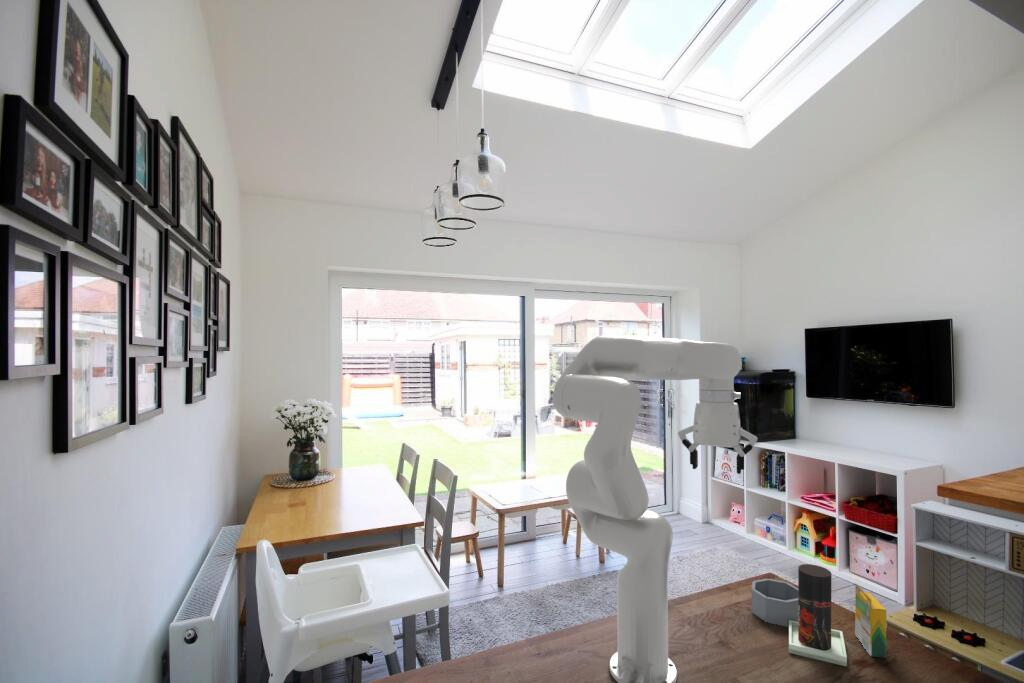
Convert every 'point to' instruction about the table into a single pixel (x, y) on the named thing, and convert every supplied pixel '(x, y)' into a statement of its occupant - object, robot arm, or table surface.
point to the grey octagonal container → (775, 601)
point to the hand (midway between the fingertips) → (716, 470)
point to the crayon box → (870, 623)
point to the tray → (832, 655)
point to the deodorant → (814, 606)
